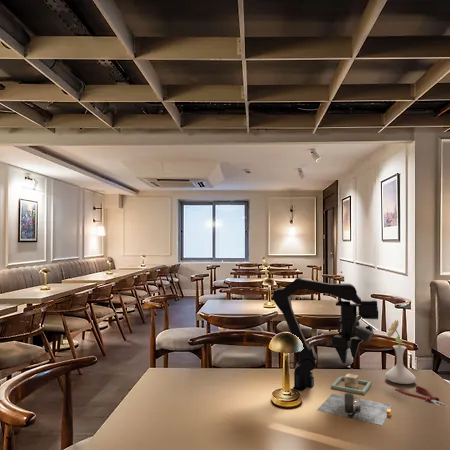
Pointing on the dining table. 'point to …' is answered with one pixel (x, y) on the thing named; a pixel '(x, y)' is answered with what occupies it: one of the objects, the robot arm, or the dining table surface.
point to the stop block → (351, 381)
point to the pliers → (424, 391)
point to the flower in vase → (399, 362)
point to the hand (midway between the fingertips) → (349, 360)
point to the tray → (367, 383)
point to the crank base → (367, 412)
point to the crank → (351, 403)
